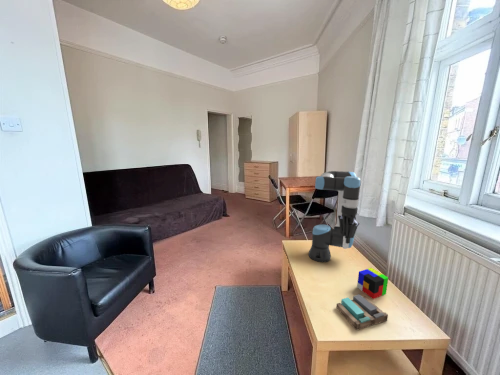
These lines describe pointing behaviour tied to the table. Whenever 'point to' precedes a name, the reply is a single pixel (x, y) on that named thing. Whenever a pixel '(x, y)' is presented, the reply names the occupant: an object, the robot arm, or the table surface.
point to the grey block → (365, 304)
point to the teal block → (352, 308)
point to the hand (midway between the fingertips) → (345, 247)
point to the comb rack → (367, 318)
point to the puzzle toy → (372, 283)
